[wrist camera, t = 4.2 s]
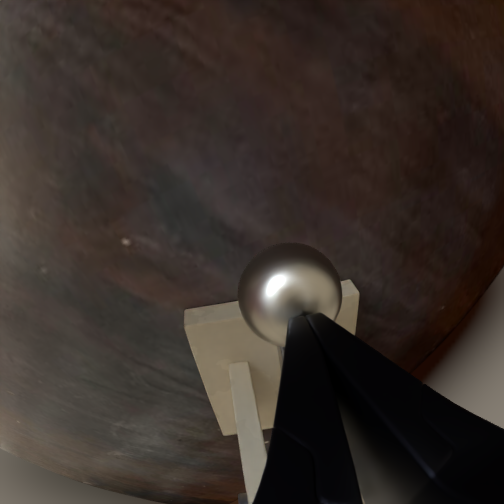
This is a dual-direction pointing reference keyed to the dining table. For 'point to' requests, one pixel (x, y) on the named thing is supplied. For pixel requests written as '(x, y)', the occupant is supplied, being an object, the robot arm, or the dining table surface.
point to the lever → (287, 290)
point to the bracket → (245, 375)
